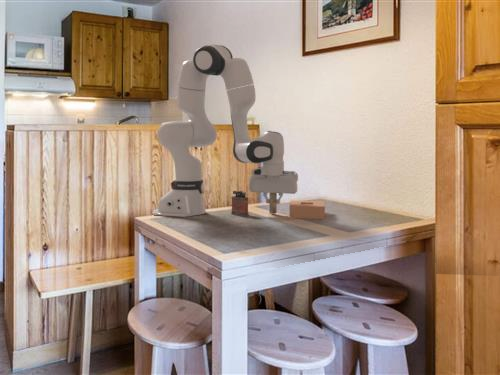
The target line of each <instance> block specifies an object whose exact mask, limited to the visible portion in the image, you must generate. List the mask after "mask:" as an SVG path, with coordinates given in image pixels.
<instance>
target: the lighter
mask: <svg viewBox="0 0 500 375" xmlns="http://www.w3.org/2000/svg"><path fill="white" fill-rule="evenodd" d="M246 193H247V192H245V191H243V190H233V191H232V195H233V196H230V199H231V215H234V216H242V217H243V216H244V217H246V216H249V197H248V196H246V195H247V194H246Z"/></svg>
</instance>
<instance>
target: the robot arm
mask: <svg viewBox="0 0 500 375" xmlns="http://www.w3.org/2000/svg"><path fill="white" fill-rule="evenodd" d="M209 76H216V77H217V76H220V77H221V78H222V79H223V82H224V85H225V90H226V95H227V99H228V104H229V110H230V120H231V126H232V132H233V146H232V153H233V156H234V158H235V160H236V161H238V162H239V163H242V164H247V163H248V164H255V165H256V164H257V165H258V164H260V163H261V164H262V166H258V167H257V168H253V169H252V170H251V176H250V177H249V182H248V183H249V184H248V190H249V192H250V193H262V196H263V198H264V200H265V204H269V197H268V194H270V193H277V194H278V198H277V199H276V204H277V205H280V204H281V199H282V197H283V196H284V194H288V195H290V194H291V195H292V194H293V195H294V194H296V193H297V192H298V180H299V175H298V172H296V171H295V170H294V171H293V170H285V161H284V155H285V142H284V136H283V135H282V134H281V133H280V132H279V131H278V132H277V131H272V130H266V131H264V133H262V134H260V135H259V136H258V137H257V136H256V137H255V138H253V139H251V137H250V133H249V127H248V120H247V117H248V113H249V111H250V109H252V107H253V106H254V105H255V102H256V88H255V84H254V79H253V75H252V72H251V70H250V67H249V65H248V62H247V61H246V60H245V59H243V58H242V57H241V58H240V57H235V58H234V57H233V53H232V52H231V50H230V49H229V48H227V46H225V45H219V44H210V45H208V44H207V45H206V44H205V45H202V46H200V47H199V48H198V49H196V50H195V52H194V54H193V56H192V59H187V60H185V61H183V62H182V64H181V68H180V72H179V77H178V81H177V82H178V83H177V84H178V85H177V96H176V97H177V98H176V105H177V107H178V109H180V111H182V112H183V113H185V114H186V115H187V117H188V119H187V120H186V121H185V120H182V121H181V120H180V121H179V120H174V121H173V120H171V121H166V122H162V123H161V124H160V125H159V127H158V130H157V140H158V142H159V143H160V145H161V146H163V147H164V148H165V149H167V151H168V152H169V153H170V155H171V157H172V159H173V163H174V171H175V172H174V173H175V179H174V180H172V181H171V183H170V188H171V189H170V190H169V191H168V192H166V193H164V195H163V196H161V198H159V200H158V204H157V208H156V209H154V210H153V211H152V215H153V216H163V217H164V216H165V217H180V218H182V217H183V218H186V217H191V216H192V217H193V216H200V215H204V214H206V213H207V209H206V207H205V202H204V195H203V193H204V181H203V178H202V177H203V176H202V175H203V172H202V167H203V166H202V161H201V160H200V159H199V158H198V157H196V156H194V155H192V154H191V152H190V148H205V147H208V146H212V145H214V144H215V141H216V140H217V136H218V132H217V129H216V127H215V124H213V123H212V122H211V121H210V120H209V118H208V117H207V114H206V109H205V98H206V87H207V84H206V83H207V80H208V78H209Z"/></svg>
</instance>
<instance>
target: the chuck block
mask: <svg viewBox="0 0 500 375" xmlns="http://www.w3.org/2000/svg"><path fill="white" fill-rule="evenodd" d="M325 213H326V206H325V202H324V200H290V201H289V214H288V215H289V216H288V217H289V219H310V220H311V219H312V220H315V219H316V220H325V219H326V217H325V216H326V214H325Z"/></svg>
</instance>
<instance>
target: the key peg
mask: <svg viewBox="0 0 500 375" xmlns="http://www.w3.org/2000/svg"><path fill="white" fill-rule="evenodd" d="M268 194H269V197H268V199H269V203H268V204H269V205H268V206H269V214H275V215H276V214H277V212H278V211H277V209H278V208H277V205H278V204H276V199H278V198H277V197H278V195H277V194H278V193H268Z"/></svg>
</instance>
